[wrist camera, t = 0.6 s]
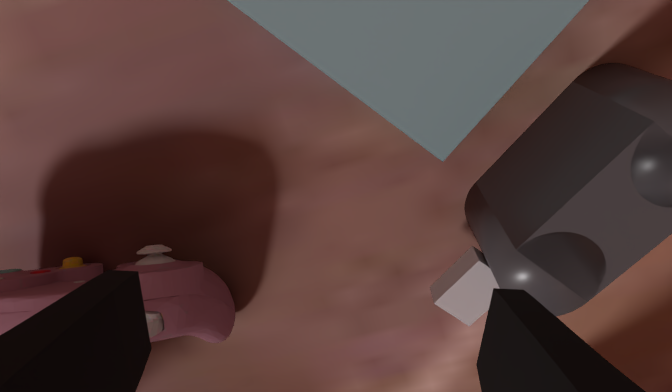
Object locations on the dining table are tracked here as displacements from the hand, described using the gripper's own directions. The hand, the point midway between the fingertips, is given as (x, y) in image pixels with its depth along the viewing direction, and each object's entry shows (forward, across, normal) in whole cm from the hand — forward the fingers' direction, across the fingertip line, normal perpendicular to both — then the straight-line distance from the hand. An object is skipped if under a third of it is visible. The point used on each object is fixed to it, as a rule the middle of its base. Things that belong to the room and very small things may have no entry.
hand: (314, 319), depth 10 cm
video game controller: (+10, +9, +6) cm, 15 cm away
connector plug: (+10, -8, +1) cm, 12 cm away
